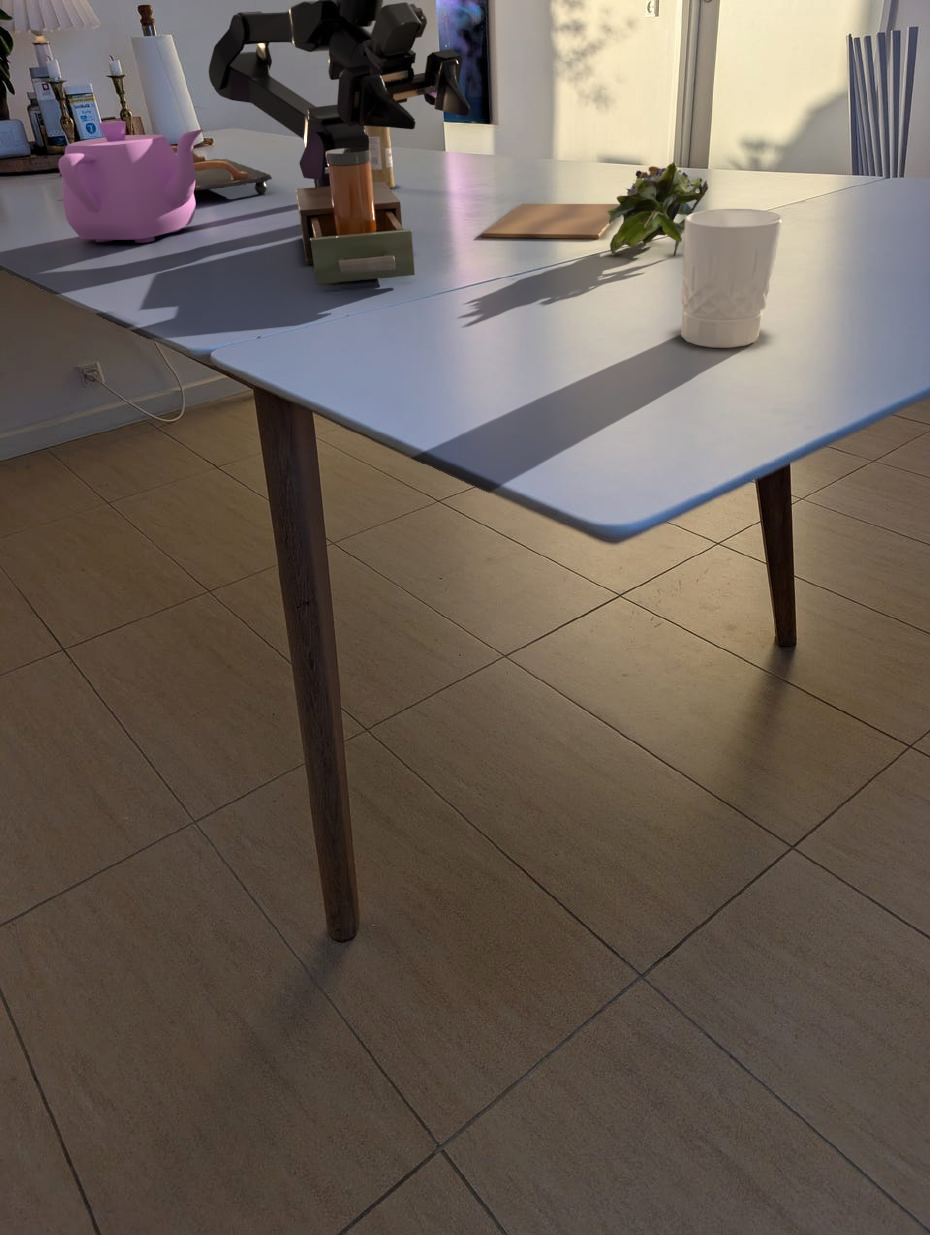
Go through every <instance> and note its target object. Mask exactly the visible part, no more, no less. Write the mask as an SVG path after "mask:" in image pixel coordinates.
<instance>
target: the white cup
mask: <svg viewBox="0 0 930 1235" xmlns="http://www.w3.org/2000/svg"><path fill="white" fill-rule="evenodd" d="M684 219H685V221H684V231H683V246H682V248H683V250H682V268H681V270H682V271H681V306H682V312H681V326H680V328H681V329H680V336H681V338H682V339H683V340H684V341H686V342H687V343H689V344H693V345H696V346H699V347H707V348H719V349H720V348H721V349H722V348H725V349H726V348H729V349H730V348H737V347H743V346H748V345H750V344H752V343H755V342H757V341H758V339H759V334H760V330H761V324H762V319H763V315H764V310H765V309H766V305H767V299H768V294H769V292H770V286H771V280H772V279H771V278H772V275H773V272H774V267H775V261H776V254H777V249H778V242H779V238H780V232H781V228H782V222H783V217H782V215H780V214H778V213H777V212H773V211H769V210H763V209H751V208H717V209H707V210H701V211H696V212H692V214H689V215H685V217H684Z"/></svg>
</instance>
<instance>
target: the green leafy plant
mask: <svg viewBox="0 0 930 1235" xmlns="http://www.w3.org/2000/svg"><path fill="white" fill-rule="evenodd" d="M647 170H648V172H647V171H642V170H637V171H636V172H635V177H636V179H635V181H634V182H633V183H632V185H631V186H630V187H629V188H624V189H625V190H627V192H626V194H627V195H622V194H621V195H618V196H616V201H617V202H618V204H620V205H619V206H618V207H616V208H613V209H608V214H609V215H611V216H610V218H609V224H611V222H612V221H613V222H614V221H615V220H616V219H617V218H620V217H623V218H622V220H623V221H622V223H621V225H620V226H619V228H618V230H617V232H616V233H615V234H614V235H613V237H612V239H611V241H610V243H609V248H610V249H609V250H610V252H611V254H612V256H615V254H616V251H618V250H619V249H620V248H622V247H624V246H628V247H629V248H630V247H635V245H638V244H639V243H641V242H642V243H644V244H647V243H651V242H652V241H653V240H654V238H656V237H658V236H667V237H669V238H670V239H672V240H674V241H675V244H674V249H673V250H674V251H673V255H672V256H673V257H675V256H676V255H677V251H678V248H679V246H680V243H681V242H682V241H683V239H682V235H683V233H684V221H685V218H683V219H682V221H680V222H676V221H675V219H676V217H677V216H678V215H680V216H687V215H689V214H692V213H694V211H695V209H696V207H697V206H698V205H699V203H700V202H701V200H702V198H703V197H704V196H705V195H706V193H707V191H708V190H709V185H708V181H707V179H706V180H705V181H704V183H703V185H702V182H703V178H702V177H698V178H696V179H694V180H690V179H689V175H688V174H686V172H684V171H683V172H682V170H681V169H679V170H678V165H677V164H676V162H675V161H672V163H669V164H668V165H666V167H662V168H661V167H658V166H653V165H651V166H649V167H648V168H647ZM690 186H691V187H692V189H690V190H689V189H688V187H690ZM697 189H698V190H699V191H698V190H697ZM693 201H695V202H694V203H693V205H692V206H691V205H690V204H689V203H690V202H693ZM613 222H612V223H613ZM611 225H612V224H611Z"/></svg>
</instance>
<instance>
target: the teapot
mask: <svg viewBox="0 0 930 1235" xmlns="http://www.w3.org/2000/svg"><path fill="white" fill-rule="evenodd" d="M97 125H98V127H99V129H100V131H101V133H102V135H103V136H102V137H96V138H88V139H85V140H79V141H74V142H72V143H69V144H67V145H66V146H65V150H64V155H63V156H61V157H60V158H59V160H58V170H59V172H60V173H59V174H60V175H61V194H62V195H61V196H62V204H63V210H64V215H65V219H66V221H67V222H68V225H69V226H70V227H71V229H72V230H73V231H74V232H75V233H76V234H77V235H78V237H79V238H81V239H85V240H95V241H94V242H95V243H106V242H112V241H117V240H118V241H121V240H122V241H123V240H124V241H127V240H128V241H129V240H134V242H135V243H137V244H139V243H140V244H143V243H144V244H145V243H151V242H154V241H155V240H156V239H155V237H158V236H162V235H165V234H171V233H178V232H180V231H182V229H183V228H185V227H187V226H188V225H190V224H191V223H192V222H193V219H194V216H195V213H196V208H197V207H196V198H195V194H194V192H195V191H194V188H195V169H194V161H193V152H194V146H195V142H196V140H197V138H198V137H199V136H200V135H201V133H202V132H204V131H205V128H200V129H197V130H196V129H195V130H191V131H187V132H184V133H182V134H181V136H180V137H179V139H178V143H177V146H178V147H177V153H175V152H174V150H173V149H172V147H171V146H172V145H171V144H170V142H169V141H168V139H167V138H166V137H165V136H164V135H163V134H127V135H126V130H127V122H126V121H124V120H109V121H102V122H100V123H98V124H97Z"/></svg>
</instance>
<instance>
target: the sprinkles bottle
mask: <svg viewBox="0 0 930 1235" xmlns="http://www.w3.org/2000/svg"><path fill="white" fill-rule="evenodd" d="M364 127H365V130H366V132H367V134H368V137H369V149H370V156H371V161H370V166H371V176H372V183H376V182H385V183H386V184H387V186H388V187H389V188H390V189H393V188H394V187H395V180H394V169H393V155H392V146H391V137H390V127H377V126H364Z"/></svg>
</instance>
